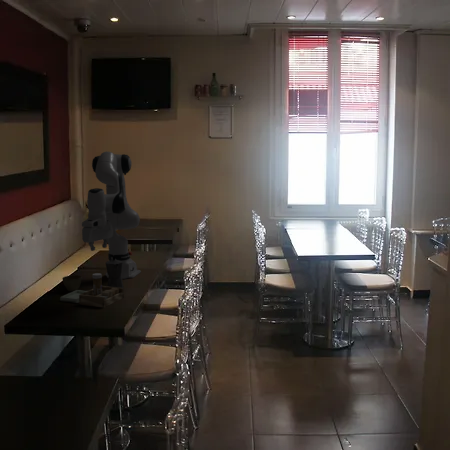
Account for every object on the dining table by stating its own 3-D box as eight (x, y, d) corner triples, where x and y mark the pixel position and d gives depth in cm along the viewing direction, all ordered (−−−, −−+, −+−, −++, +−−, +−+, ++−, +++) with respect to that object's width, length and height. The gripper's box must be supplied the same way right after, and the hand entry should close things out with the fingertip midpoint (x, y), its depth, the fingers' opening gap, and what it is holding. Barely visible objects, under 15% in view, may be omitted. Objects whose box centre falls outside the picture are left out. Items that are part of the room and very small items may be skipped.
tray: (77, 293, 292) (77, 289, 292) (93, 295, 289) (93, 291, 288) (60, 300, 279) (60, 297, 279) (77, 302, 276) (76, 299, 275)
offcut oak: (113, 297, 285) (112, 288, 284) (119, 298, 284) (118, 288, 283) (107, 300, 280) (107, 290, 280) (113, 300, 279) (113, 291, 278)
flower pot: (74, 286, 306) (73, 274, 305) (86, 289, 300) (85, 276, 299) (59, 290, 298) (58, 277, 297) (71, 293, 292) (70, 280, 291)
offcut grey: (101, 303, 275) (101, 295, 275) (107, 303, 274) (107, 296, 273) (96, 305, 271) (96, 297, 270) (102, 306, 270) (102, 298, 269)
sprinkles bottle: (102, 301, 278) (100, 275, 276) (92, 301, 278) (91, 275, 276) (103, 298, 283) (102, 272, 281) (94, 298, 283) (93, 273, 281)
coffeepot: (127, 291, 296) (125, 258, 293) (109, 293, 292) (108, 259, 290) (119, 284, 310) (118, 252, 307) (103, 286, 306) (101, 254, 303)
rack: (100, 294, 289) (100, 285, 289) (123, 297, 284) (123, 288, 284) (79, 304, 273) (79, 294, 272) (103, 307, 268) (103, 297, 267)
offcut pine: (106, 300, 279) (106, 290, 278) (112, 301, 278) (112, 290, 277) (102, 302, 276) (101, 292, 275) (108, 303, 274) (107, 292, 274)
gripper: (104, 219, 285) (106, 245, 287) (79, 223, 267) (80, 252, 269) (115, 219, 283) (116, 246, 285) (89, 223, 264) (91, 252, 266)
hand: (98, 249), depth 276 cm, fingers open, 8 cm apart
